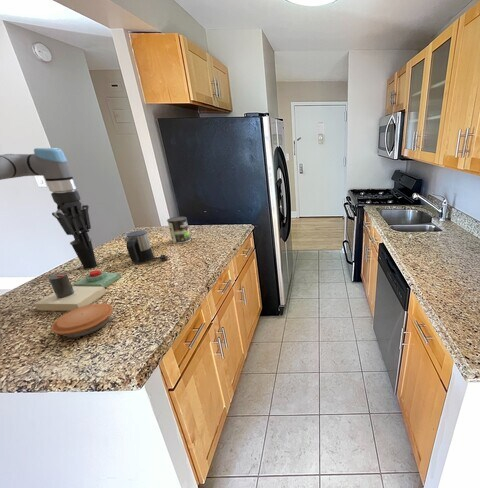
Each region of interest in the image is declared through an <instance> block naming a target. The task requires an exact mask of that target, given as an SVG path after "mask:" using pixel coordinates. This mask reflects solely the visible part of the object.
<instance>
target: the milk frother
mask: <svg viewBox="0 0 480 488" xmlns="http://www.w3.org/2000/svg"><path fill="white" fill-rule="evenodd" d="M125 236H127V238H128V241H127V242H126V244H125V245H126V250H127V252H128V255H129V258H130V261H131V262H132V263H135V264H143V263H148V262H151V261H154V260H155V261H156V260H162V261H164V260H166V258H169V256H168V255H165V254H161V255H160V256H157V257H155V255H154V253H153V249H152V246H151V242H150V238H149V235H148V230H145V229H140V230H139V229H138V230H133V231H130V232H127V233H126V234H125Z"/></svg>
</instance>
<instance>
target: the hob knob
mask: <svg viewBox="0 0 480 488" xmlns="http://www.w3.org/2000/svg"><path fill="white" fill-rule="evenodd" d="M48 281H49V284H50V287H51V288H52V291H53V293H54V292H55V295H56V297H57V298H64V297H67V296H70V295H72V294H73V293H74V290H73V287H72V286H73V284H72V283H71V281H70V278H69V276H68V273H66V272H61V273H60V272H59V273H56V274H52V275H51V276H49V277H48Z"/></svg>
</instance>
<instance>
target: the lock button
mask: <svg viewBox="0 0 480 488" xmlns="http://www.w3.org/2000/svg"><path fill="white" fill-rule="evenodd" d="M100 271H101V270H100V269H95V270H92V271H90V272H89V273H88V275H89V274H90V276H91V277H96V276H99V275H101V272H100Z"/></svg>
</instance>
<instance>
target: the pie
mask: <svg viewBox="0 0 480 488" xmlns="http://www.w3.org/2000/svg"><path fill="white" fill-rule="evenodd" d="M113 311H114V307H113V306H112V304H109V303H91V304H89V305H86V306H83V307H79V308H77V309H74V310H72V311H67V312H66V313H65V314H63V315H61V316H60V317H59V318H57V319H56V320H55V321H54V322H53V323H52V325H51V327H50V330H51V332H53V333H54V334H57V335H61V336H64V337H66V338H80V337H84V336H87V335H91V334H92V333H94V332H97V331H98V330H100V329H101V328H103V327H104V326H105V325H106V324H107V323H108V321H109V319H110V317H111V315H112V314H113Z"/></svg>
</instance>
